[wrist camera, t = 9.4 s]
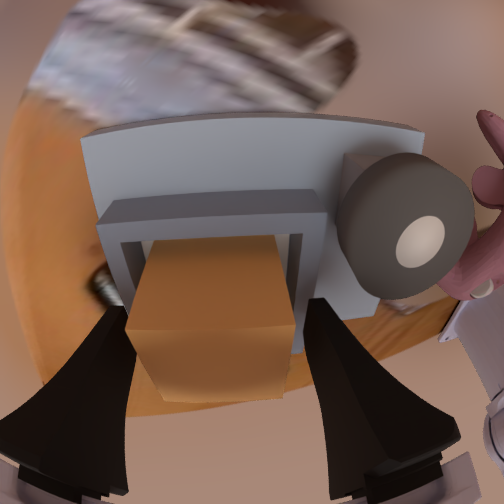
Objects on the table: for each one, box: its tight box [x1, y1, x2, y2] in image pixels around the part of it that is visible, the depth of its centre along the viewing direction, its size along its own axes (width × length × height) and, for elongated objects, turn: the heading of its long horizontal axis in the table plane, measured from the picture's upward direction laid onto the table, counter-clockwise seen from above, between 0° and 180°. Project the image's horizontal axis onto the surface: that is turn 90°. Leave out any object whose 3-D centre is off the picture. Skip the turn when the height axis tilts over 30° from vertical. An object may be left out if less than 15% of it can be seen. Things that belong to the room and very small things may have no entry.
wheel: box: [337, 152, 474, 300], centre depth 9 cm, size 5×5×4 cm
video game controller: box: [436, 110, 504, 301], centre depth 11 cm, size 10×5×7 cm, turn 147°
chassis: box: [80, 112, 425, 354], centre depth 12 cm, size 14×11×4 cm
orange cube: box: [125, 235, 296, 402], centre depth 11 cm, size 5×5×5 cm
